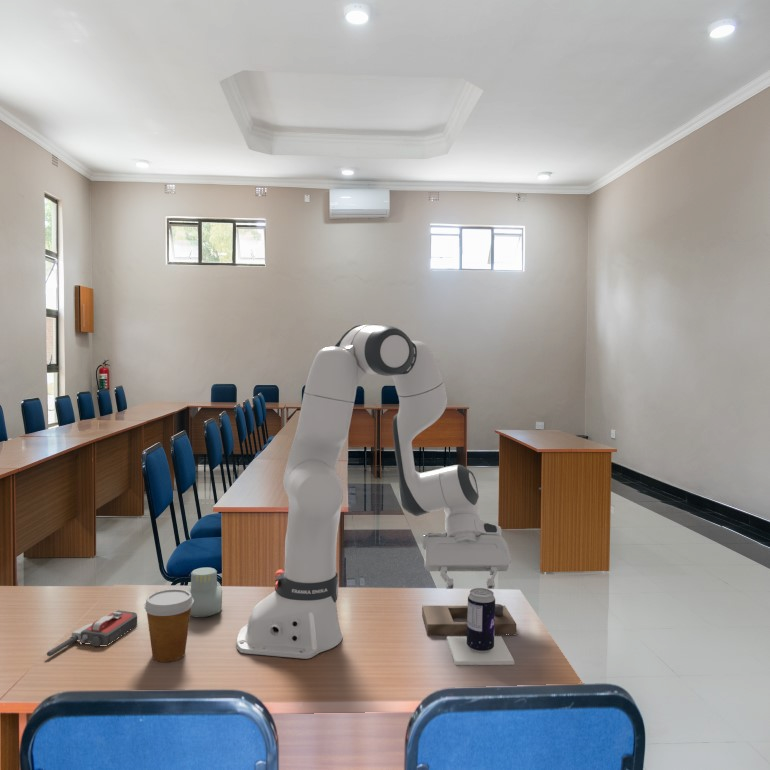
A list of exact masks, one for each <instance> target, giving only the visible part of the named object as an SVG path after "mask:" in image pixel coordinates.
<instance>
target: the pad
mask: <svg viewBox="0 0 770 770" xmlns="http://www.w3.org/2000/svg"><path fill="white" fill-rule="evenodd" d="M446 642H447V646H448V647H449V650H450V653H451V656H452V660H453V663H454V665H455V666H504V665H505V666H507V665H508V666H511V665H512V666H513V665H515V660H514V657H513V656H512V654H511V652H510V650H509V649H508V646H507V644H506V643H505V641H504V639H503V637H502V635H494V647H493V648H492V649H491V650H490V651H489V652H487V653H477V652H474V651H472V650H471V649H470V647H469V646H468V645H467V635H447V636H446Z"/></svg>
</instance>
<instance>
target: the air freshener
mask: <svg viewBox="0 0 770 770" xmlns="http://www.w3.org/2000/svg"><path fill="white" fill-rule="evenodd" d="M217 573H218V570H216V569H215V568H213V567H210V566H209V567H208V566H207V567H199V568H196V569H193V570H192V571H191V572H190V587H189V588H188V589H186V590H187V591H189V592H190V593H191V595H192V598H193V599H194V602H193V604H192V607H191V612H190V617H191V616H192V617H196V618H205V617H210V616H214V615H215V614H217V613H219V612H221V611H222V608H223V607H222V605H223V588H222V587H221V586H219V585H218V583H217V582H218V576H217Z"/></svg>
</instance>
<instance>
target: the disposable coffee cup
mask: <svg viewBox="0 0 770 770" xmlns="http://www.w3.org/2000/svg"><path fill="white" fill-rule="evenodd" d="M187 590H188V589H182V588H181V589H180V588H170V589H162V590H159V591H155V592H153V593H151V594H149V595H148V596H147V597H146V601H145V602H144V605H143V606H144V609H145V612H146V617H147V623H148V632H149V639H150V647H151V654H152V659H153V660H154V661H156V662H159V661H160V663H168V662H167V661H169V662H174V661H176V660H180V659H181V658H182V656H183V655H184V656H185V654H186V649H187V641H188V633H189V625H190V617H191V615H190V612H191V607H192V604H193V602H194V599H193V598H192V595H191V593H190V592H189V591H187ZM184 656H183V657H184ZM173 660H174V661H173Z"/></svg>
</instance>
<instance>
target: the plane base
mask: <svg viewBox="0 0 770 770" xmlns="http://www.w3.org/2000/svg"><path fill="white" fill-rule="evenodd" d="M421 607H422V609H421V616H422V621H423V625H424V628H425V632H426V636H467V621H454V619H467V613H468V605H421ZM506 634H507V635H506ZM508 634H509V635H508ZM510 634H511V635H510ZM512 634H516V635H517V623H516V621H515V619H514V618H513V616H512V614H511V613H510V611H509V610H508V608H507V607H506V605H503V604H499V603H495V629H494V636H513V635H512Z"/></svg>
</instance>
